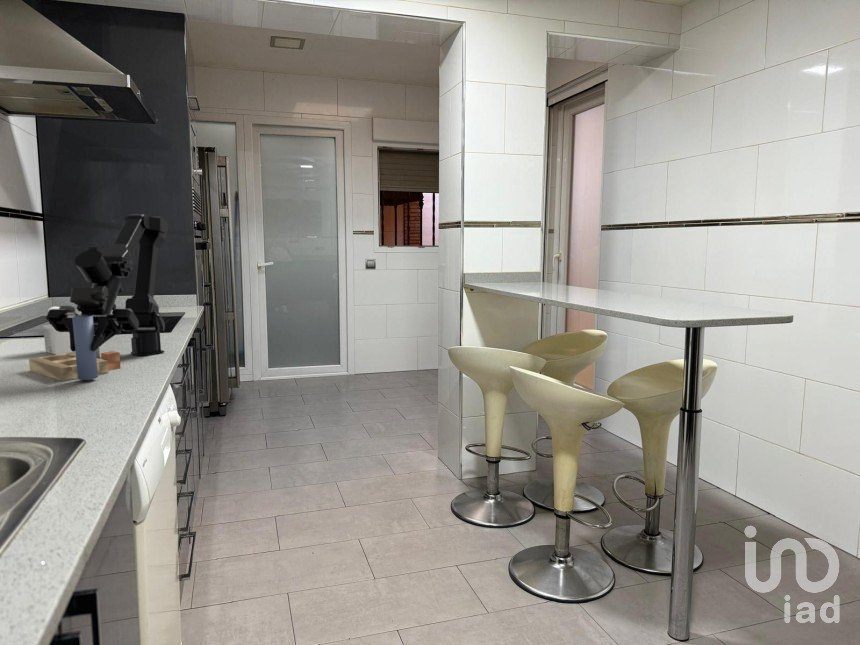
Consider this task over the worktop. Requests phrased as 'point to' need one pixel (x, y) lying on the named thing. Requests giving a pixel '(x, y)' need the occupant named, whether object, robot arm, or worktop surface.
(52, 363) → the socket board
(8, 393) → the worktop surface
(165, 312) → the worktop surface
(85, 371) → the blue-grey cylinder
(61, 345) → the container
